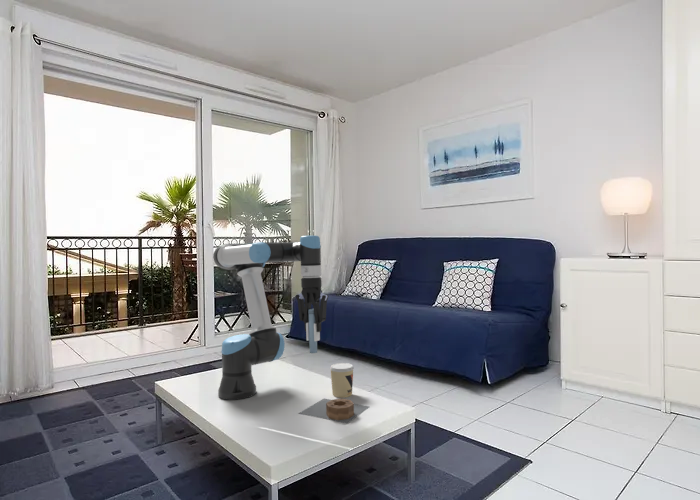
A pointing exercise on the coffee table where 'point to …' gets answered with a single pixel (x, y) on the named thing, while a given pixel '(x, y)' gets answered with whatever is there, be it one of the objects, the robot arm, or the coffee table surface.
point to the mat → (320, 411)
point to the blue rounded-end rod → (312, 331)
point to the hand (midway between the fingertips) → (313, 340)
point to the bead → (340, 409)
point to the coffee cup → (342, 379)
